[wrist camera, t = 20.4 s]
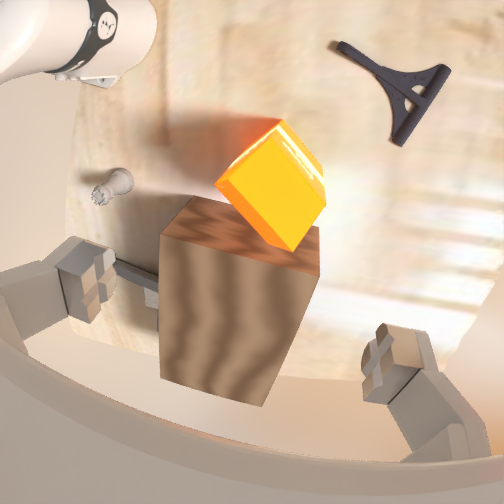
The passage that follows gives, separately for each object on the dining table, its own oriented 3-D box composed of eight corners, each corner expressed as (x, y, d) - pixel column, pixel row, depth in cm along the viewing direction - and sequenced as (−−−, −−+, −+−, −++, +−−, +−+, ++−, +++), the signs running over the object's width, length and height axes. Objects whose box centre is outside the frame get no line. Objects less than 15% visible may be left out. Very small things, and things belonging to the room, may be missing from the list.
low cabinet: (181, 332, 66) (160, 377, 55) (194, 195, 49) (159, 234, 38) (271, 356, 65) (261, 407, 54) (318, 227, 48) (319, 276, 37)
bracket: (362, 8, 30) (365, 3, 28) (448, 71, 32) (456, 71, 29) (311, 87, 38) (311, 87, 36) (399, 145, 40) (404, 150, 37)
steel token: (149, 300, 64) (145, 306, 62) (147, 277, 60) (143, 283, 59) (175, 306, 63) (172, 313, 62) (174, 284, 60) (171, 290, 58)
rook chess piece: (133, 167, 48) (107, 184, 41) (136, 192, 50) (111, 212, 43) (112, 167, 48) (84, 183, 42) (114, 191, 51) (89, 210, 44)
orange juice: (283, 118, 40) (262, 148, 23) (323, 166, 43) (330, 230, 26) (241, 152, 44) (194, 205, 27) (280, 196, 46) (260, 274, 30)
